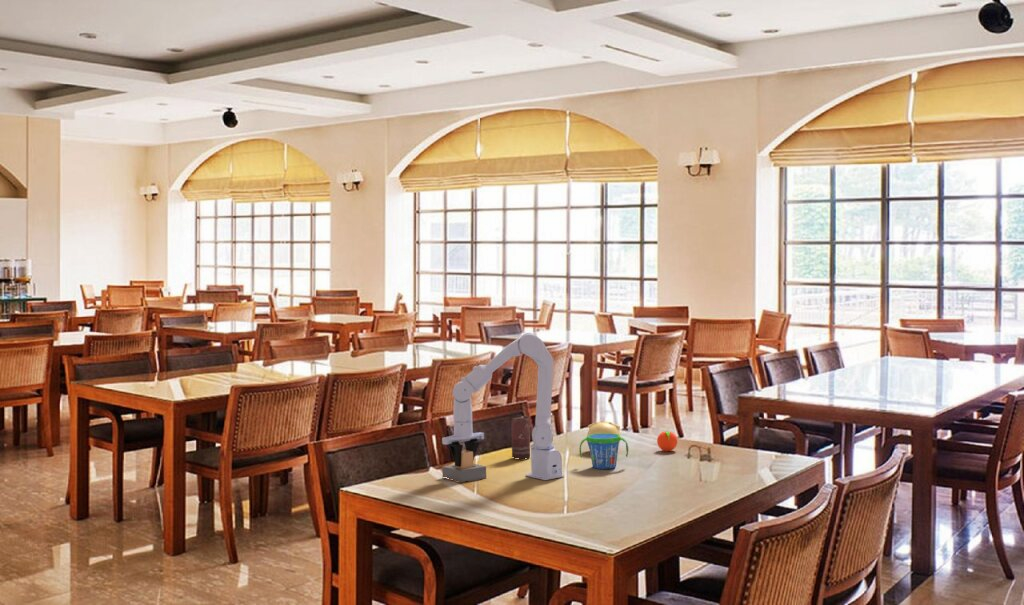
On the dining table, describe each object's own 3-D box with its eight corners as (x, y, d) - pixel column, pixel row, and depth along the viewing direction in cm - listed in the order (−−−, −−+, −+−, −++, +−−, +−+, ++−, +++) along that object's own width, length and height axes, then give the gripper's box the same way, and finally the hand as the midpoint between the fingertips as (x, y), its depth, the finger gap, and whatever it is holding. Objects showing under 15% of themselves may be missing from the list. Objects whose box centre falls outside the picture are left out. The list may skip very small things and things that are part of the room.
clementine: (679, 453, 337) (679, 432, 337) (659, 453, 337) (658, 432, 337) (675, 449, 345) (675, 428, 345) (656, 449, 345) (655, 429, 345)
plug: (473, 471, 303) (473, 451, 303) (462, 473, 301) (462, 453, 300) (465, 469, 306) (465, 449, 306) (455, 471, 304) (454, 451, 304)
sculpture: (622, 449, 348) (621, 418, 347) (618, 455, 336) (617, 423, 336) (590, 448, 350) (589, 418, 350) (584, 454, 339) (584, 423, 338)
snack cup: (577, 470, 312) (577, 438, 312) (582, 463, 322) (581, 432, 322) (627, 471, 309) (626, 438, 309) (630, 464, 319) (629, 433, 319)
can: (530, 456, 337) (530, 415, 337) (529, 460, 331) (528, 418, 330) (513, 456, 338) (512, 415, 337) (511, 460, 331) (510, 418, 331)
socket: (486, 478, 303) (486, 466, 303) (460, 482, 297) (460, 470, 297) (467, 473, 310) (467, 462, 310) (442, 478, 304) (442, 466, 304)
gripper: (474, 417, 311) (475, 460, 311) (436, 422, 302) (437, 466, 302) (487, 419, 305) (488, 463, 306) (449, 424, 296) (450, 469, 297)
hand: (464, 465), depth 303 cm, fingers closed on plug, 4 cm apart
